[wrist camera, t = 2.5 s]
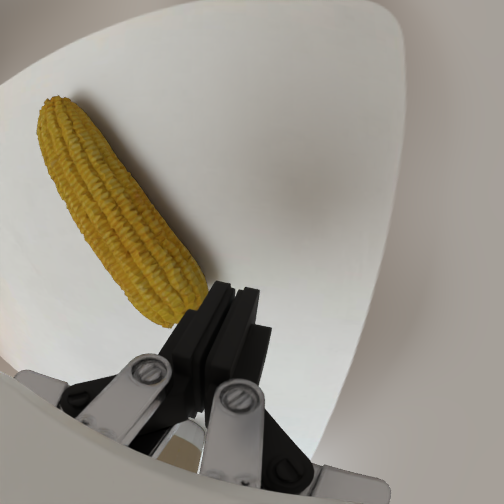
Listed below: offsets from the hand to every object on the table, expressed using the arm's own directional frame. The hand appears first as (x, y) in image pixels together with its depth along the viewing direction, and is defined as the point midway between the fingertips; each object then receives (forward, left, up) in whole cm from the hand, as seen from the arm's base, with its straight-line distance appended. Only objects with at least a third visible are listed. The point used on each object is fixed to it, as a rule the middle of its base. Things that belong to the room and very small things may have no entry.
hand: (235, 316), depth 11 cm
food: (0, -12, -10) cm, 16 cm away
